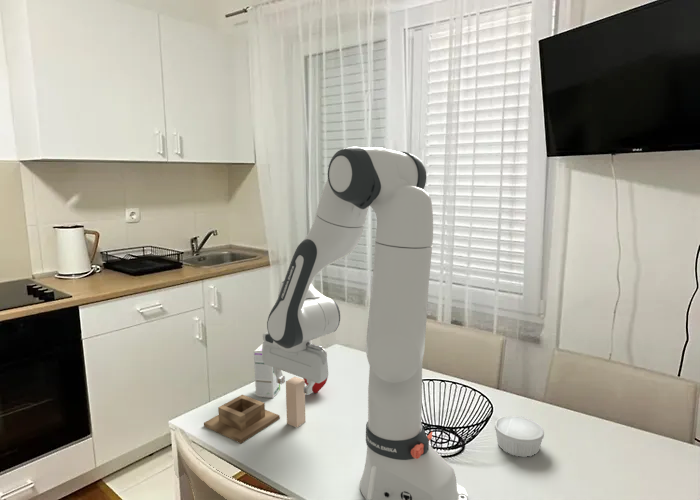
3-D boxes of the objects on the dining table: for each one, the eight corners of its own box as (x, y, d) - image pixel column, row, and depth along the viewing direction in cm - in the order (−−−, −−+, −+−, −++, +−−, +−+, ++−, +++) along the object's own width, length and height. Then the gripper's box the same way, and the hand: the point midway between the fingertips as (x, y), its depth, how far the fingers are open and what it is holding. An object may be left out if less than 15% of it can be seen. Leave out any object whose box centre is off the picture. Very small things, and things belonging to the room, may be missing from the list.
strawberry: (326, 398, 139) (326, 366, 137) (301, 397, 140) (300, 365, 138) (329, 389, 145) (329, 358, 143) (305, 388, 146) (304, 357, 144)
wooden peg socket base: (279, 418, 128) (279, 401, 127) (241, 443, 116) (240, 424, 116) (243, 404, 136) (242, 388, 135) (203, 426, 124) (202, 408, 123)
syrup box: (273, 398, 139) (272, 351, 137) (255, 396, 140) (253, 350, 138) (280, 389, 145) (279, 344, 142) (262, 387, 146) (260, 343, 143)
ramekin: (486, 435, 120) (487, 415, 119) (529, 432, 121) (530, 413, 120) (505, 462, 109) (506, 441, 108) (551, 459, 110) (552, 438, 109)
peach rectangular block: (305, 421, 126) (304, 379, 124) (296, 427, 124) (295, 384, 121) (295, 417, 128) (294, 376, 126) (286, 423, 125) (285, 381, 123)
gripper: (334, 344, 119) (332, 395, 122) (274, 326, 130) (274, 373, 133) (318, 352, 114) (317, 404, 116) (258, 333, 125) (258, 381, 128)
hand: (294, 388), depth 125 cm, fingers open, 8 cm apart
